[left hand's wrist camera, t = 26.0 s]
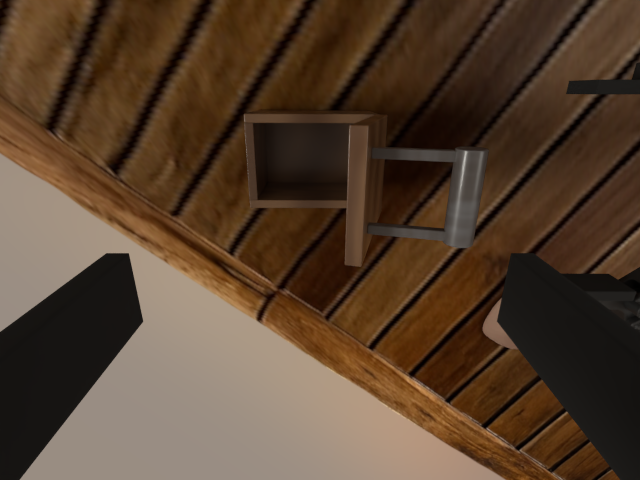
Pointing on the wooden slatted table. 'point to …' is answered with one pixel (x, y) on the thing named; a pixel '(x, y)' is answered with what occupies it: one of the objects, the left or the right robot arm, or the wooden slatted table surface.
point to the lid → (368, 188)
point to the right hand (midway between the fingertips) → (553, 197)
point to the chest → (299, 157)
